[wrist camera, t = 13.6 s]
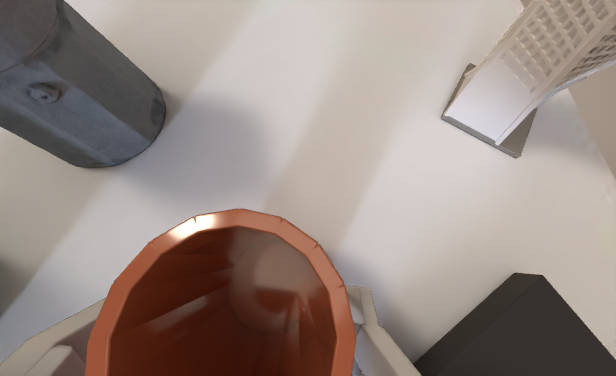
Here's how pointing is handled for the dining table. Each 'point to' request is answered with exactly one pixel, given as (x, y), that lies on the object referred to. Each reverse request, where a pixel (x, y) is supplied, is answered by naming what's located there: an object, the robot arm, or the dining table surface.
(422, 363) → the dark grey flat block
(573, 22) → the skyscraper
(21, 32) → the moka pot
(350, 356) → the cup
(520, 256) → the dining table surface
